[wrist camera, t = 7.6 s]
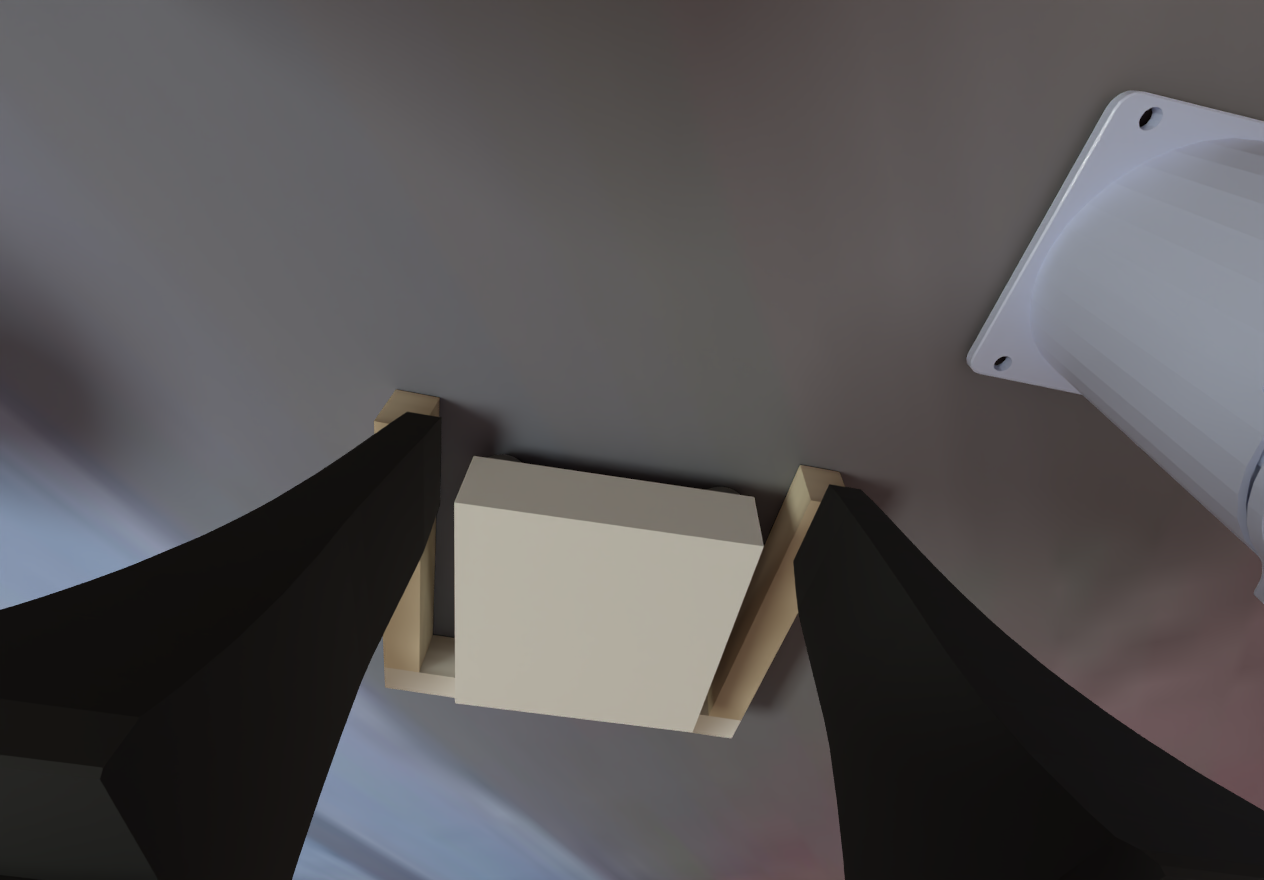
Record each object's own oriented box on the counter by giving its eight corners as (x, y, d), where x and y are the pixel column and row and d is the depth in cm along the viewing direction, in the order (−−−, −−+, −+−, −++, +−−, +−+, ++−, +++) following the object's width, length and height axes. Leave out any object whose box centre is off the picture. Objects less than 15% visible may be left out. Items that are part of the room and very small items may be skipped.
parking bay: (839, 472, 23) (853, 507, 21) (727, 699, 31) (731, 738, 29) (395, 389, 22) (374, 421, 20) (400, 649, 30) (385, 687, 28)
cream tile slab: (750, 479, 23) (763, 546, 20) (689, 661, 30) (692, 732, 27) (480, 439, 23) (454, 502, 20) (475, 633, 29) (455, 703, 26)
